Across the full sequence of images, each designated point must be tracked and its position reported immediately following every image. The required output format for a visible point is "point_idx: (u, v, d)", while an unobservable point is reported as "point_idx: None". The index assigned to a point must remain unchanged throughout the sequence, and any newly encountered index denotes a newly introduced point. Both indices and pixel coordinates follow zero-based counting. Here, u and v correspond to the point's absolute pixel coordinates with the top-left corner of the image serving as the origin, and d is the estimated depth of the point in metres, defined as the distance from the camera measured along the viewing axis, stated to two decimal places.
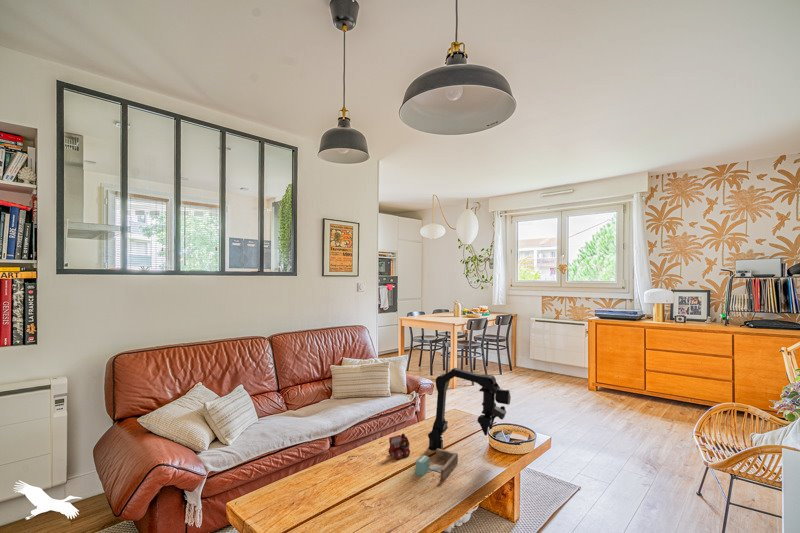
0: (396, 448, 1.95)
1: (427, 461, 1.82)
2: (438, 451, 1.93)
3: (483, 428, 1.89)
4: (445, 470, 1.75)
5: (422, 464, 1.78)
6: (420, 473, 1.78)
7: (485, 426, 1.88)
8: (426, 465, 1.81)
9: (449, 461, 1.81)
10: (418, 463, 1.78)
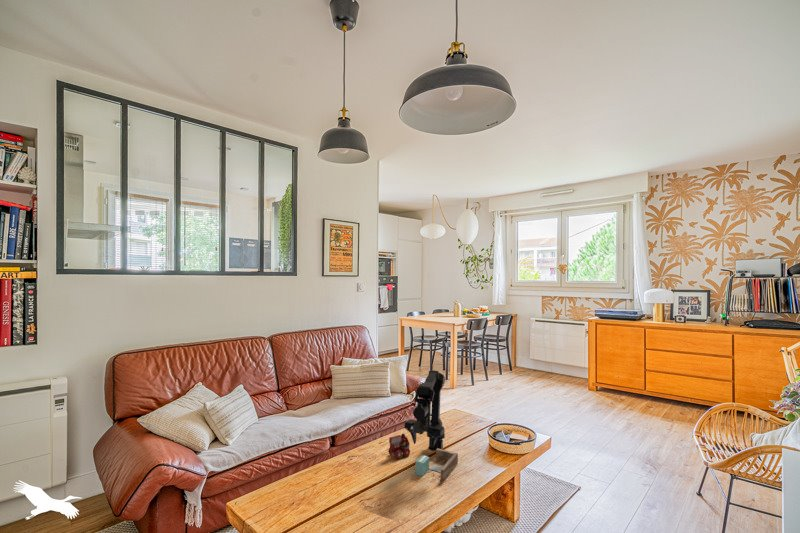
0: (396, 448, 1.95)
1: (427, 461, 1.82)
2: (438, 451, 1.93)
3: None
4: (445, 470, 1.75)
5: (422, 464, 1.78)
6: (420, 473, 1.78)
7: None
8: (426, 465, 1.81)
9: (449, 461, 1.81)
10: (418, 463, 1.78)
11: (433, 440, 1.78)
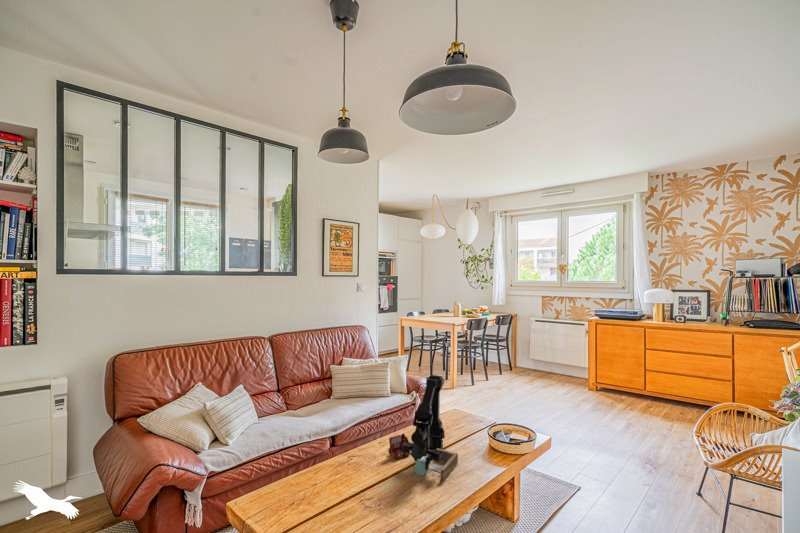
0: (396, 448, 1.95)
1: None
2: None
3: None
4: (445, 470, 1.75)
5: (422, 464, 1.78)
6: (420, 473, 1.78)
7: None
8: None
9: (449, 461, 1.81)
10: (418, 463, 1.78)
11: (427, 463, 1.79)
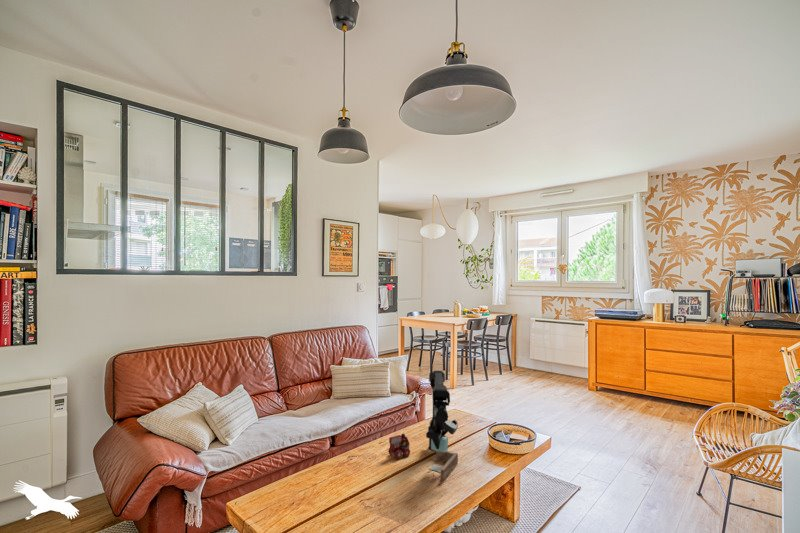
0: (396, 448, 1.95)
1: None
2: (438, 451, 1.93)
3: (434, 441, 1.82)
4: (445, 470, 1.75)
5: (447, 438, 1.84)
6: (446, 448, 1.83)
7: (436, 439, 1.81)
8: None
9: (449, 461, 1.81)
10: (446, 440, 1.82)
11: None
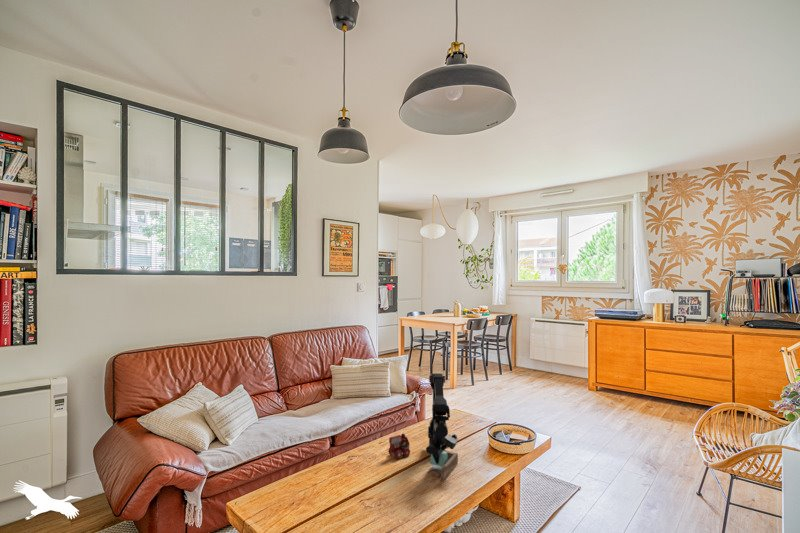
0: (396, 448, 1.95)
1: None
2: None
3: (434, 456, 1.81)
4: (445, 470, 1.75)
5: (447, 453, 1.84)
6: None
7: (436, 454, 1.81)
8: None
9: (449, 461, 1.81)
10: (445, 454, 1.82)
11: None
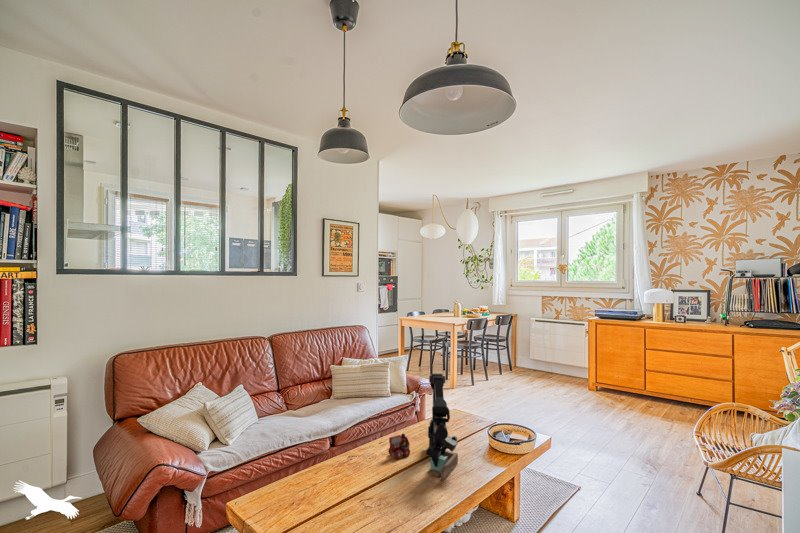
0: (396, 448, 1.95)
1: None
2: None
3: (433, 459, 1.80)
4: (445, 470, 1.75)
5: (447, 458, 1.84)
6: None
7: (435, 457, 1.80)
8: None
9: (449, 461, 1.81)
10: (445, 460, 1.82)
11: (444, 452, 1.87)
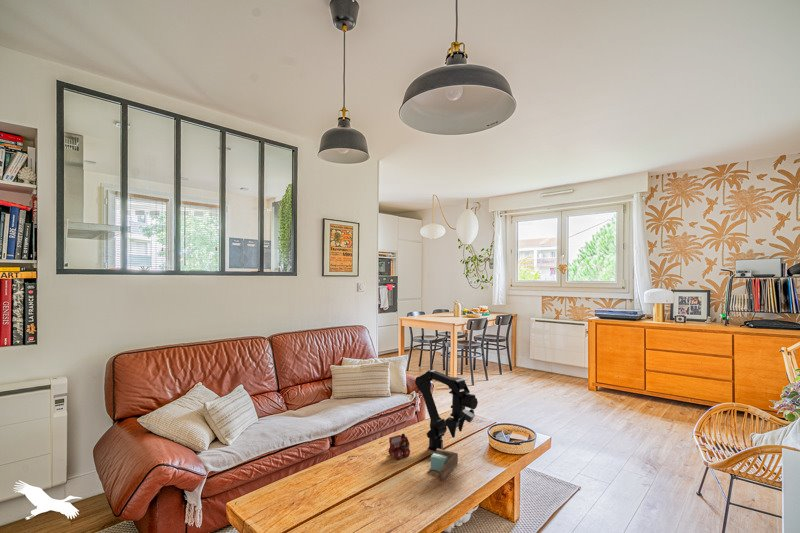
0: (396, 448, 1.95)
1: None
2: (438, 451, 1.93)
3: (451, 430, 1.92)
4: (445, 470, 1.75)
5: (447, 458, 1.84)
6: None
7: (452, 428, 1.91)
8: None
9: (449, 461, 1.81)
10: (445, 460, 1.82)
11: (463, 423, 2.00)
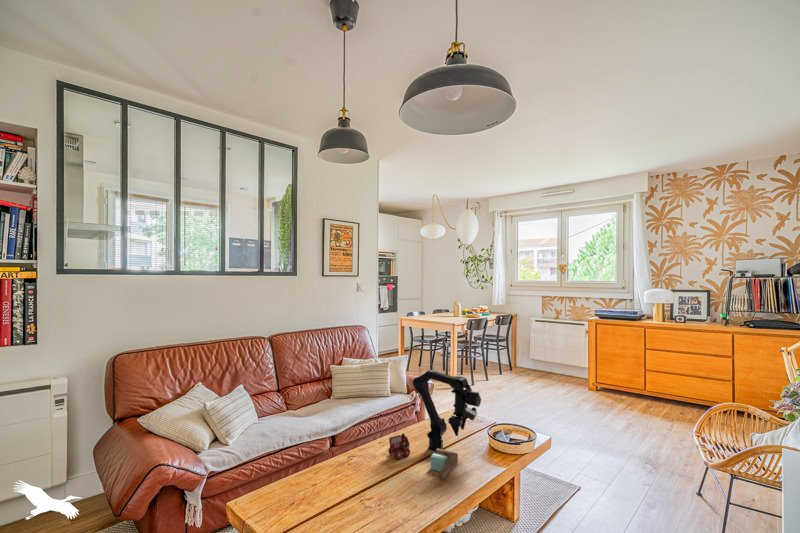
0: (396, 448, 1.95)
1: None
2: (438, 451, 1.93)
3: (454, 429, 1.93)
4: (445, 470, 1.75)
5: (447, 458, 1.84)
6: None
7: (456, 427, 1.93)
8: None
9: (449, 461, 1.81)
10: (445, 460, 1.82)
11: (465, 421, 2.02)
